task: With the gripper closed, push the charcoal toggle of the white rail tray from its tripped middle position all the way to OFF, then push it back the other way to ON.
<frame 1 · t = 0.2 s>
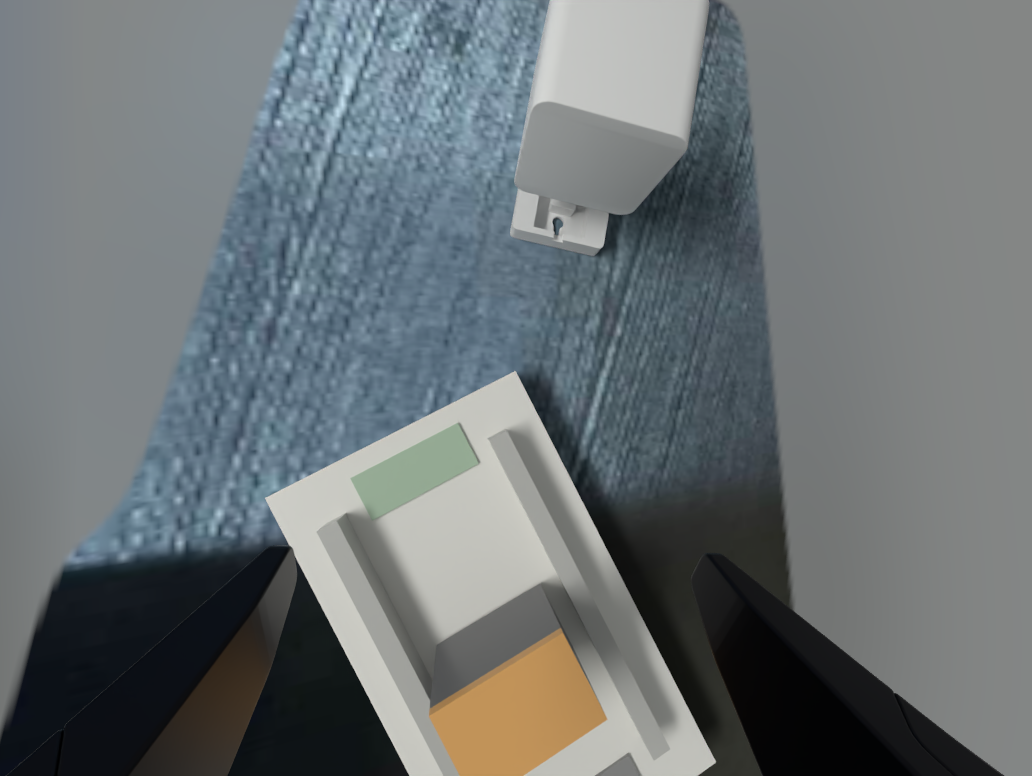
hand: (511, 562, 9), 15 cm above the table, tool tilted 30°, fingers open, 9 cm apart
security camera: (562, 194, 26), on the table
white rail tray: (498, 618, 23), on the table
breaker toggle: (512, 678, 19), point 5 cm above the table, slide at 4.0 cm
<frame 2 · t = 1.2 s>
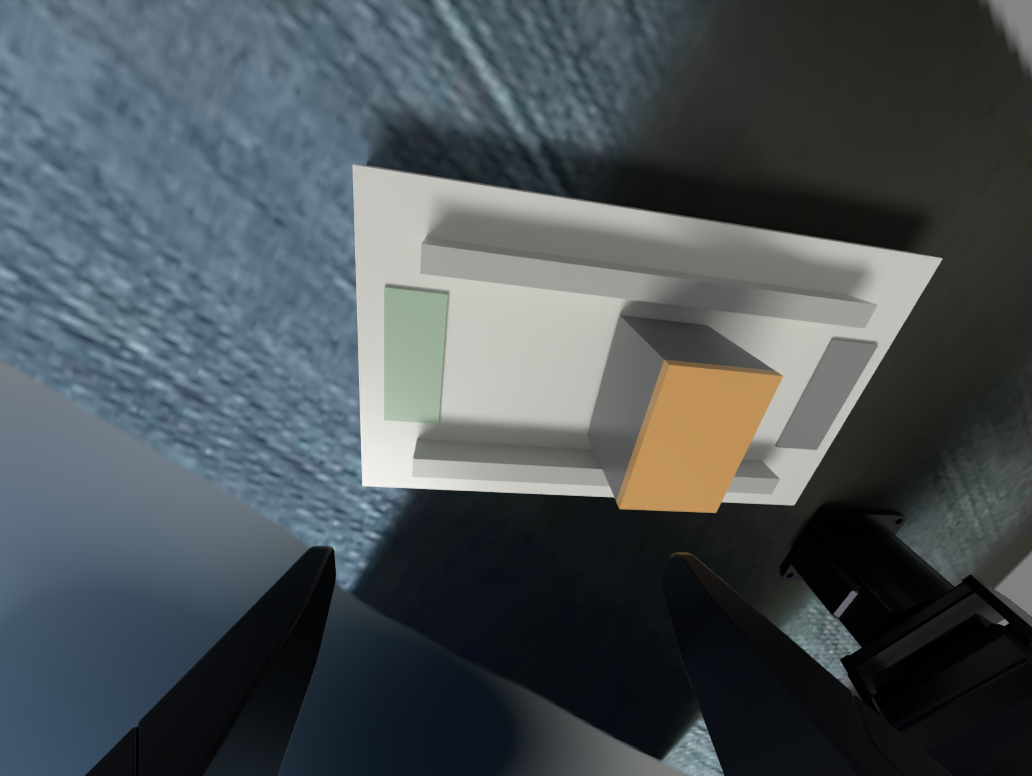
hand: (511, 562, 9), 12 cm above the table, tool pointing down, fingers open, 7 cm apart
white rail tray: (618, 362, 21), on the table
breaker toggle: (666, 411, 17), point 5 cm above the table, slide at 4.0 cm
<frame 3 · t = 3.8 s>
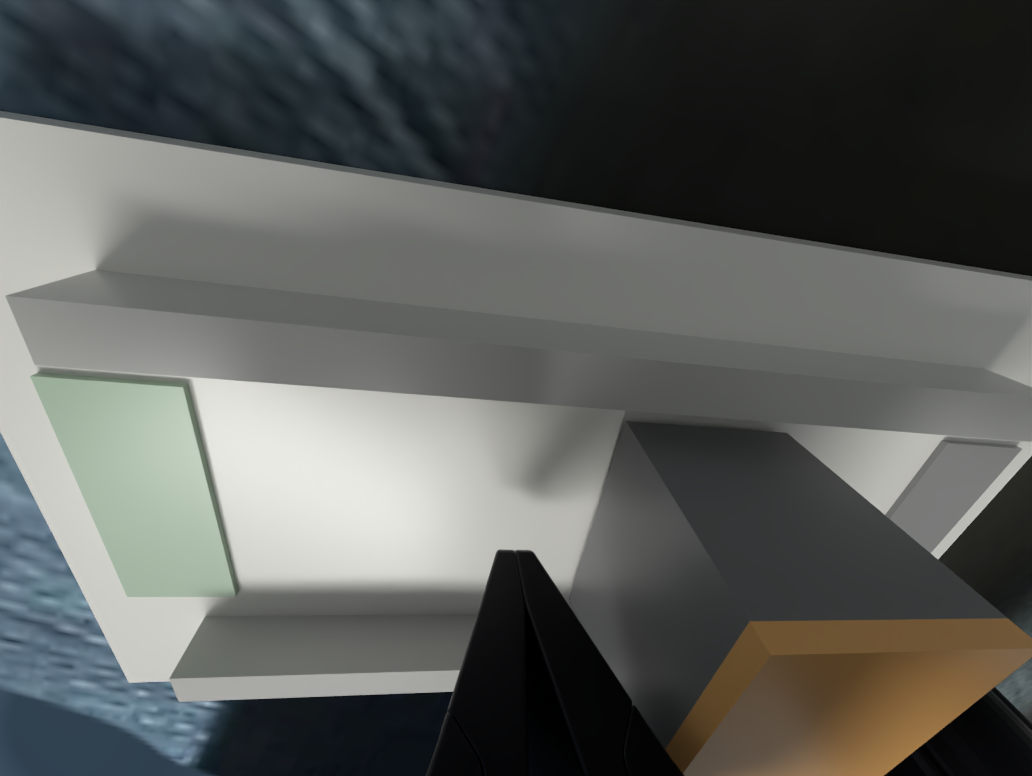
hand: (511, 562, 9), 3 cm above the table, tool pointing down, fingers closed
white rail tray: (569, 465, 12), on the table
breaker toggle: (717, 613, 9), point 5 cm above the table, slide at 2.4 cm, touching gripper
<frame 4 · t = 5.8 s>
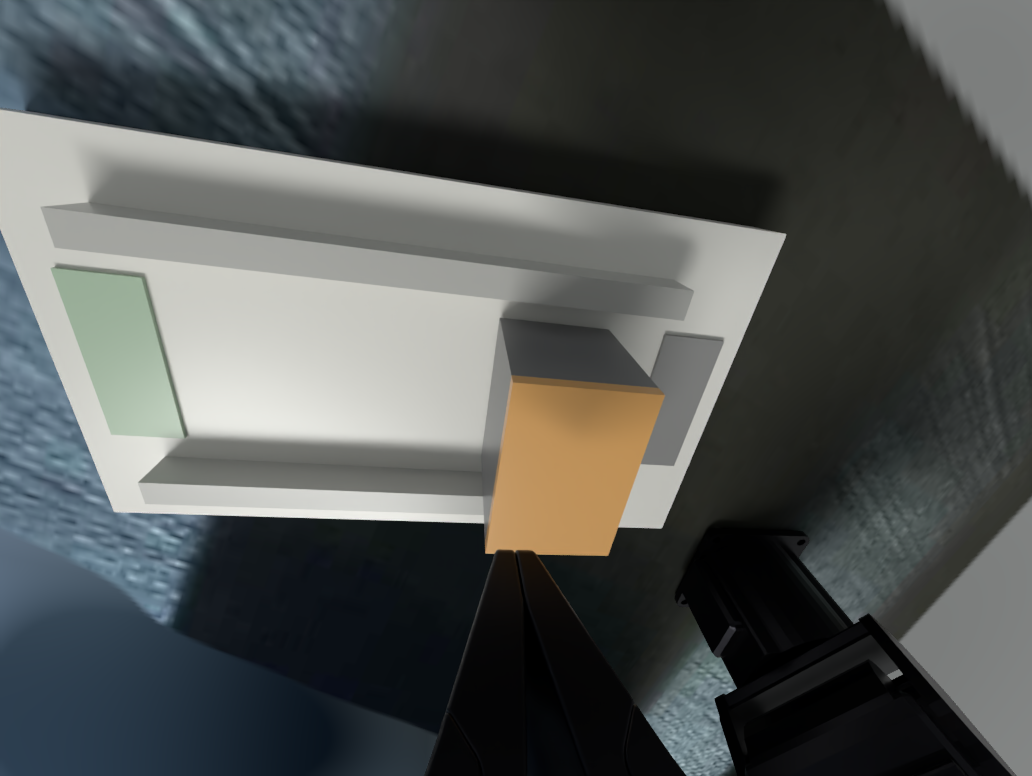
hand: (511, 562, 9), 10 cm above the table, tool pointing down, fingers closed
white rail tray: (426, 362, 17), on the table
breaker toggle: (551, 432, 14), point 5 cm above the table, slide at 0.0 cm
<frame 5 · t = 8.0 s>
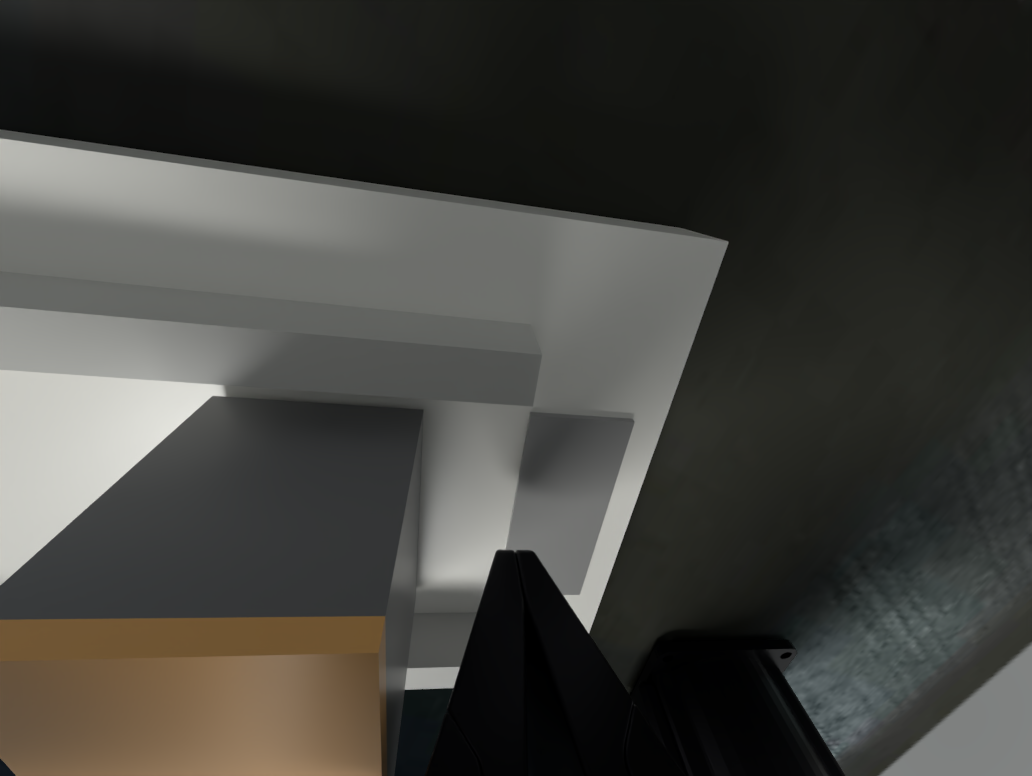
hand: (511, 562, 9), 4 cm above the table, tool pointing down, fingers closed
white rail tray: (175, 447, 11), on the table
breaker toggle: (292, 613, 8), point 5 cm above the table, slide at 0.0 cm, touching gripper
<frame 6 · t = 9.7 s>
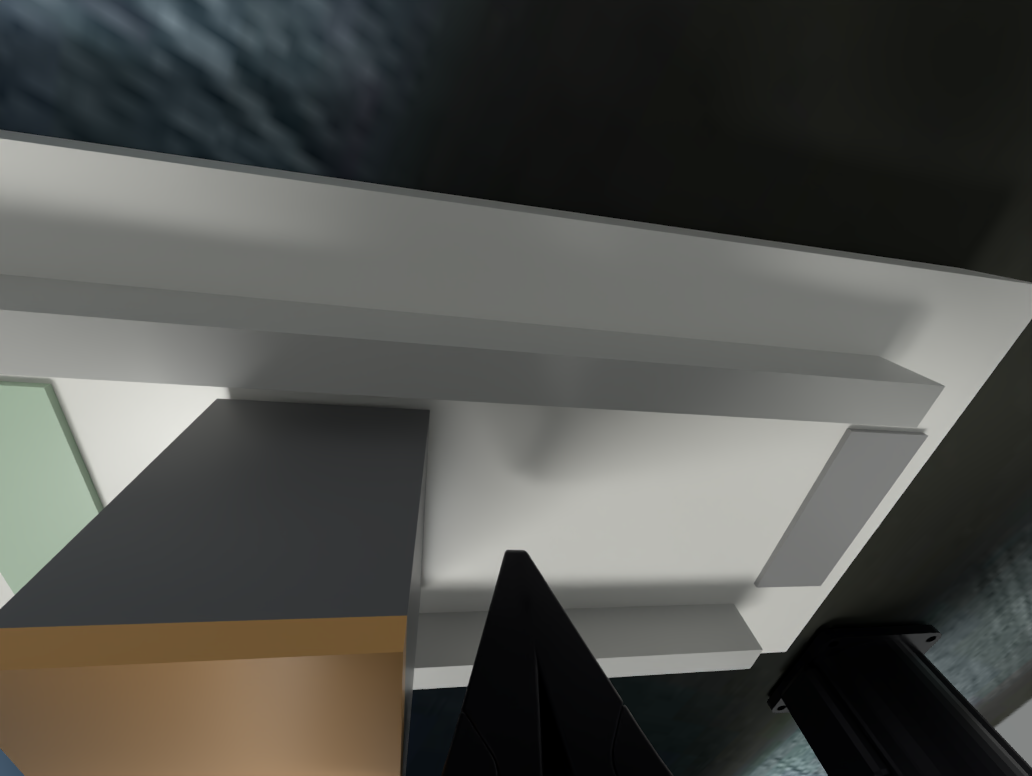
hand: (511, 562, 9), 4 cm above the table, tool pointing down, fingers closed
white rail tray: (488, 461, 12), on the table
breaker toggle: (302, 615, 7), point 5 cm above the table, slide at 8.2 cm, touching gripper
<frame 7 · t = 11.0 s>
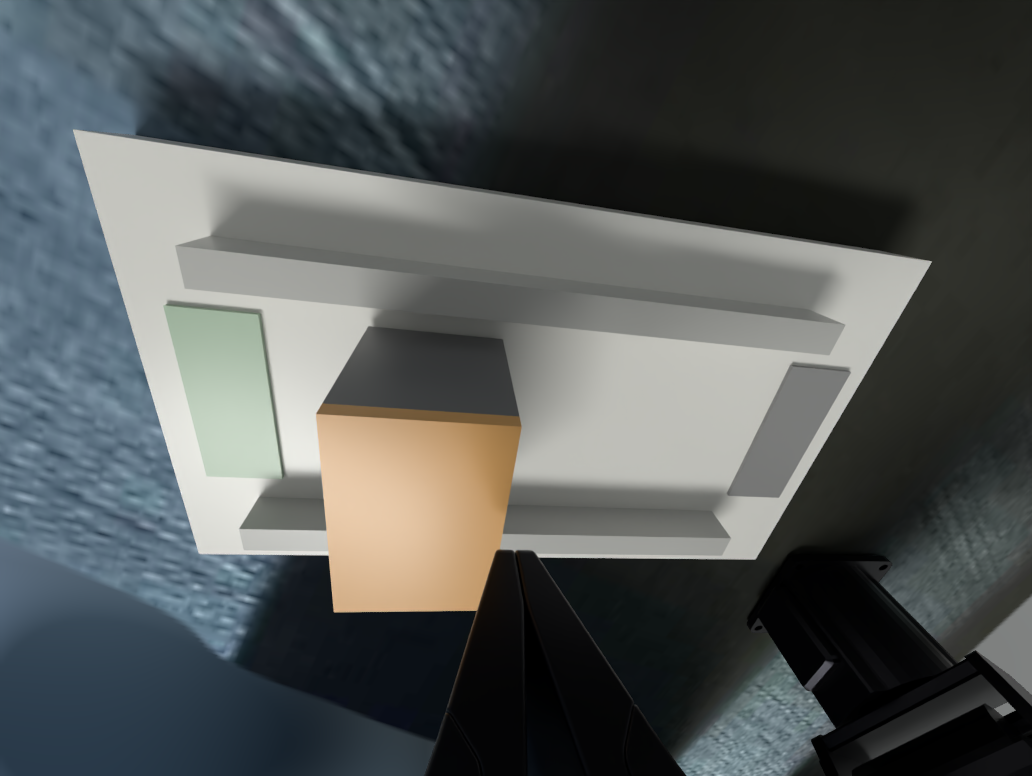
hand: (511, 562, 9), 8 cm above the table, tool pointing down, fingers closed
white rail tray: (527, 392, 16), on the table
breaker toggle: (426, 462, 12), point 5 cm above the table, slide at 8.0 cm
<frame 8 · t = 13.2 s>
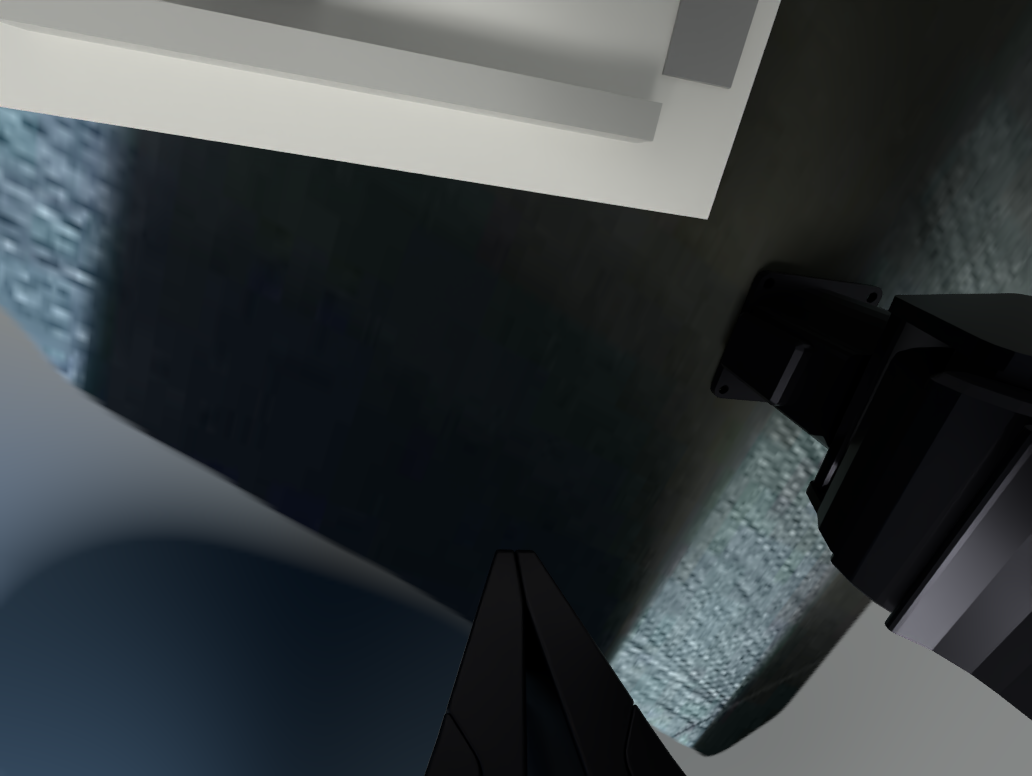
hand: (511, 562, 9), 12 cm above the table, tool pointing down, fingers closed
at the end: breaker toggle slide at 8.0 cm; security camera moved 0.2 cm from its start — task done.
